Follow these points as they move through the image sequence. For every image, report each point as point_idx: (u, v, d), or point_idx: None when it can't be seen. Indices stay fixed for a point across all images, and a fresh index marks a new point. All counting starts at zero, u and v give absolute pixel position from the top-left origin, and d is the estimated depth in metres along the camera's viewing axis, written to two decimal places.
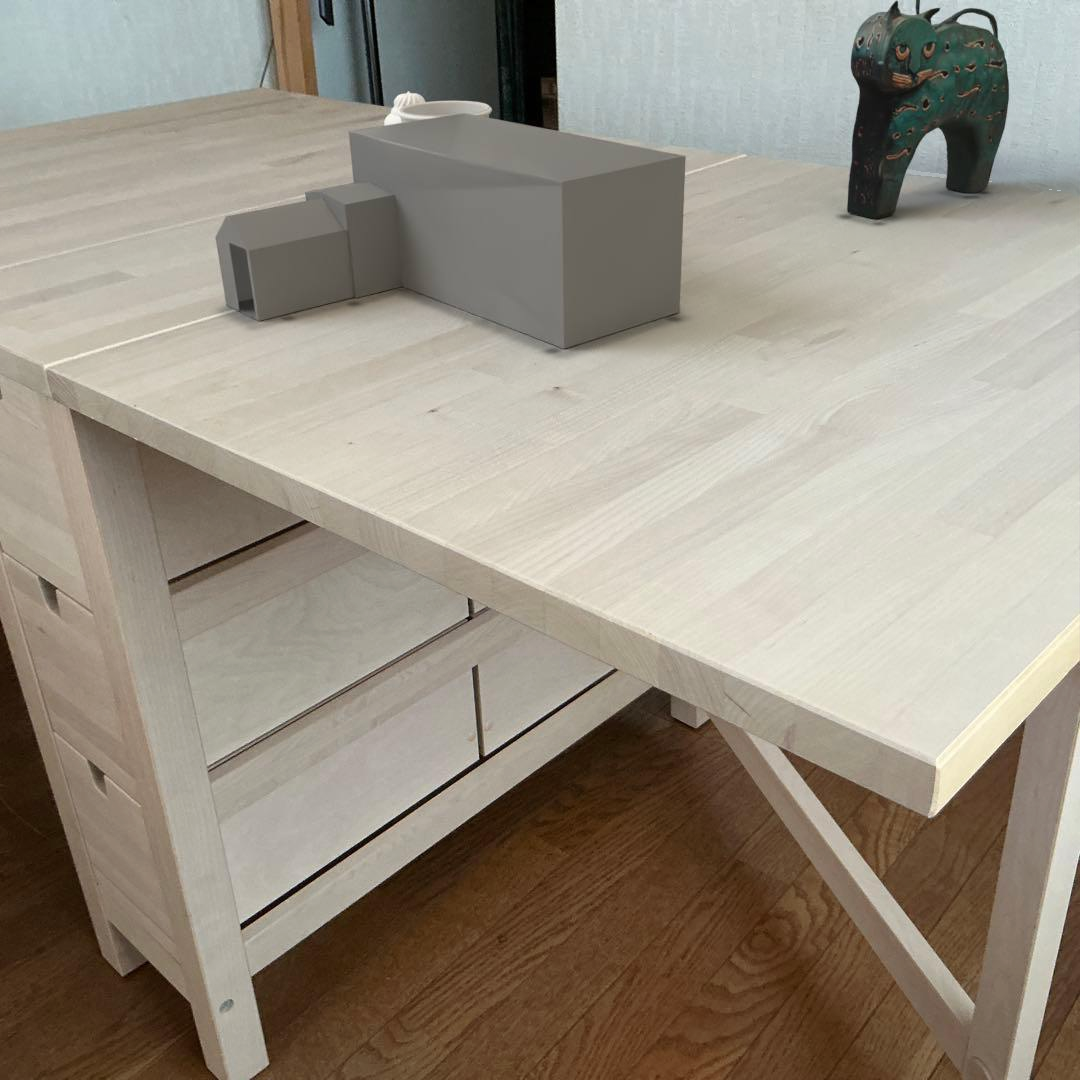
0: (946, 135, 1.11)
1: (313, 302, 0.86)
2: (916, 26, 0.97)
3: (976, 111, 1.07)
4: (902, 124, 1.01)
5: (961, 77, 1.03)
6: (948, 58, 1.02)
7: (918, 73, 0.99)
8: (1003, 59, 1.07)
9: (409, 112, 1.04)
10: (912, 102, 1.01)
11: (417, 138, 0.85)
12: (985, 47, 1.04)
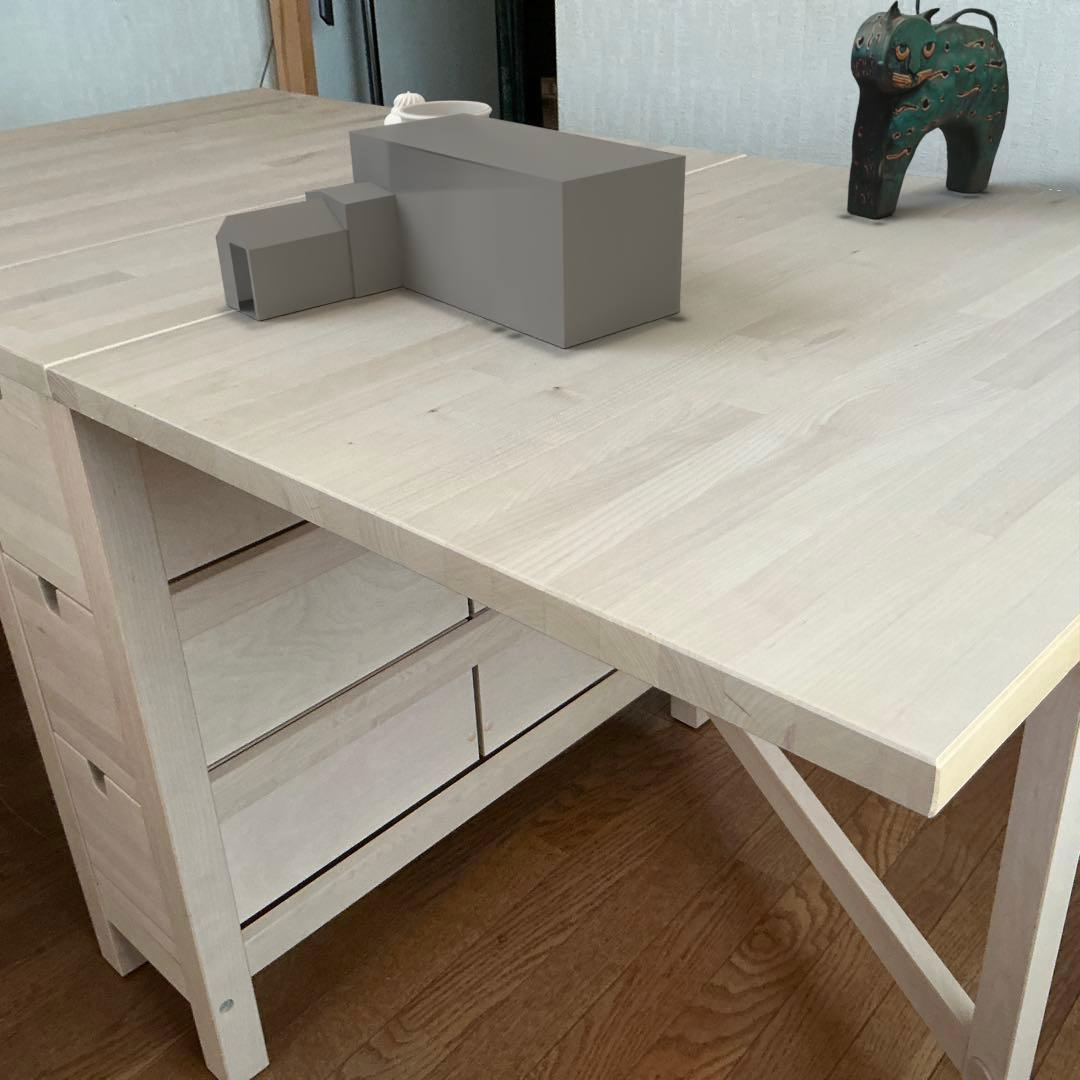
0: (946, 135, 1.11)
1: (313, 302, 0.86)
2: (916, 26, 0.97)
3: (976, 111, 1.07)
4: (902, 124, 1.01)
5: (961, 77, 1.03)
6: (948, 58, 1.02)
7: (918, 73, 0.99)
8: (1003, 59, 1.07)
9: (409, 112, 1.04)
10: (912, 102, 1.01)
11: (417, 138, 0.86)
12: (985, 47, 1.04)
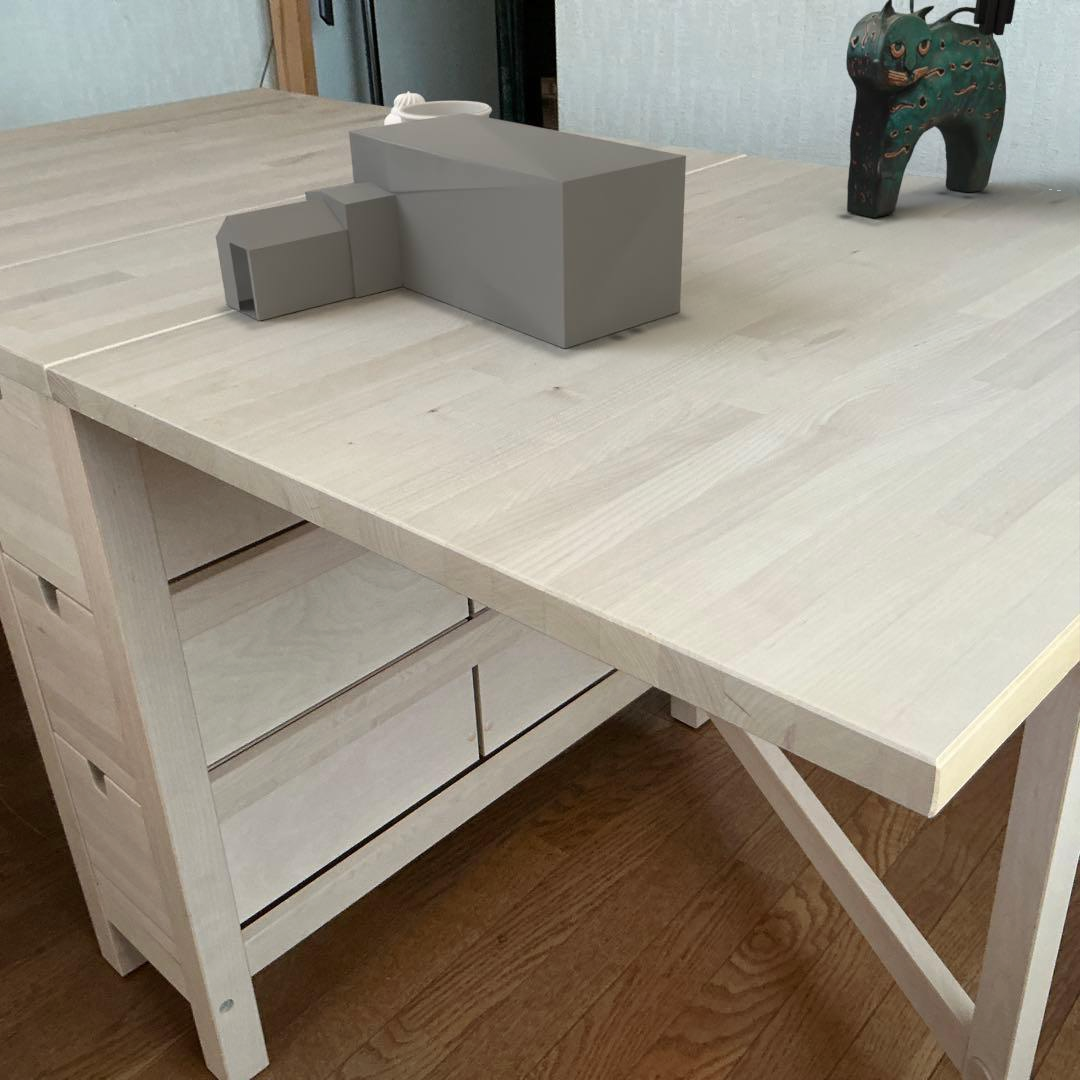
0: (944, 135, 1.11)
1: (313, 302, 0.86)
2: (910, 24, 0.97)
3: (973, 109, 1.07)
4: (899, 122, 1.01)
5: (957, 75, 1.03)
6: (944, 56, 1.02)
7: (914, 71, 0.99)
8: (999, 57, 1.07)
9: (409, 112, 1.04)
10: (909, 100, 1.01)
11: (417, 138, 0.86)
12: (981, 45, 1.04)
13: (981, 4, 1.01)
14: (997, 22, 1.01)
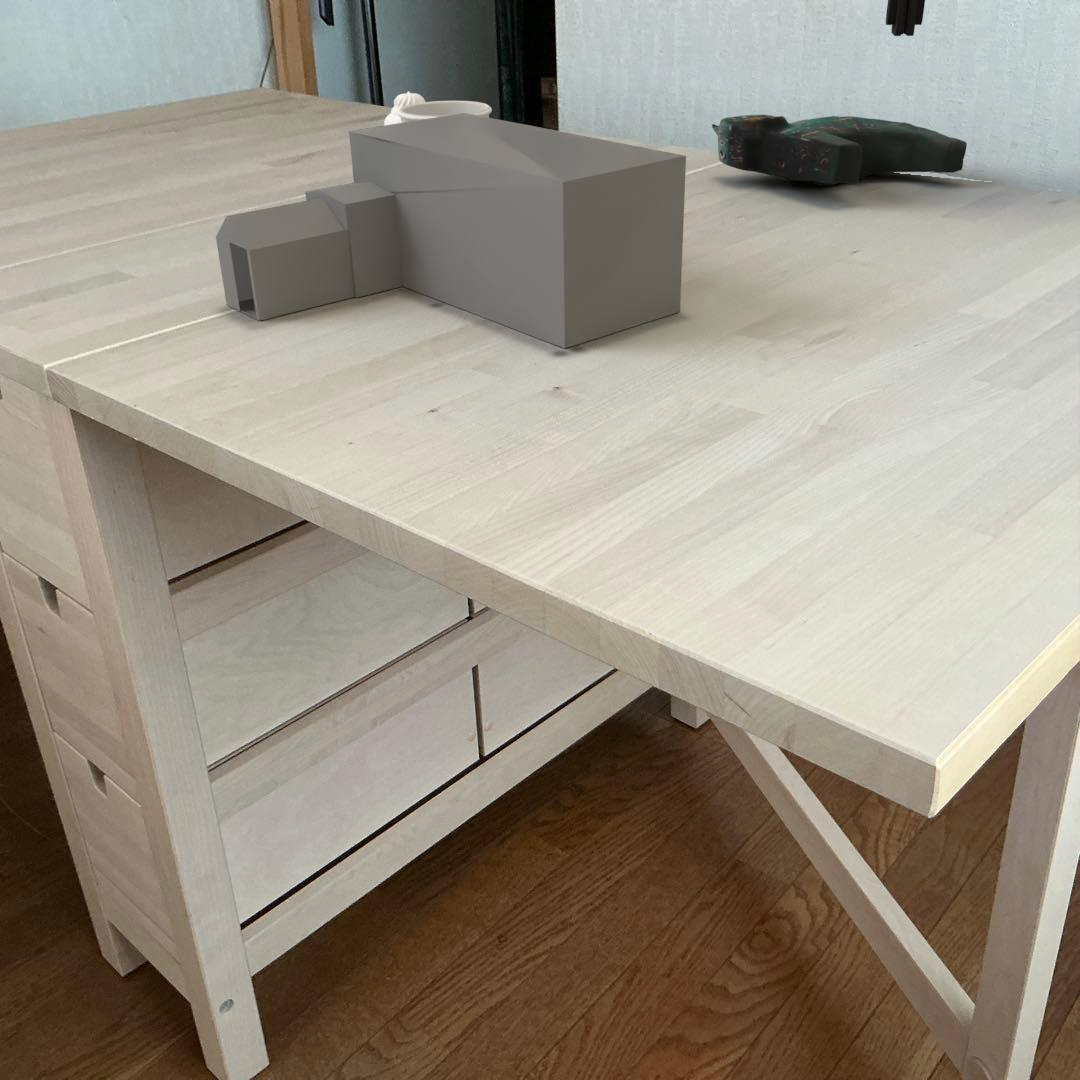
0: (891, 162, 1.16)
1: (313, 302, 0.86)
2: None
3: (872, 124, 1.16)
4: (794, 129, 1.12)
5: (824, 118, 1.17)
6: (800, 121, 1.18)
7: (768, 116, 1.15)
8: None
9: (409, 112, 1.04)
10: (791, 128, 1.14)
11: (417, 138, 0.86)
12: None
13: (891, 5, 1.02)
14: (907, 23, 1.02)
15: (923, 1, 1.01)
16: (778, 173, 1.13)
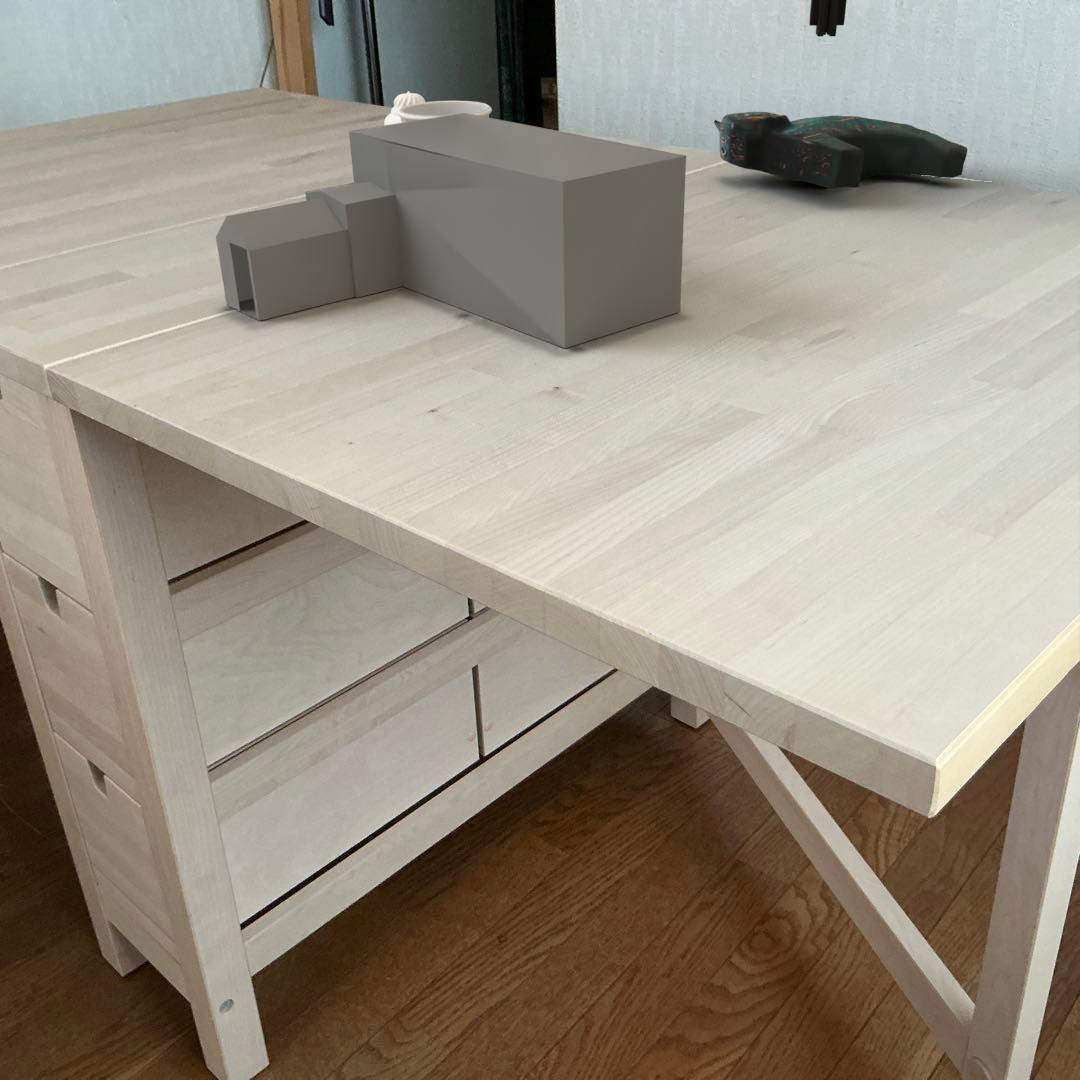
0: (892, 164, 1.16)
1: (313, 302, 0.86)
2: None
3: (874, 126, 1.16)
4: (796, 130, 1.11)
5: (826, 117, 1.17)
6: (803, 120, 1.18)
7: (771, 115, 1.14)
8: None
9: (409, 112, 1.04)
10: (793, 128, 1.13)
11: (417, 138, 0.86)
12: None
13: (813, 6, 1.03)
14: (829, 23, 1.03)
15: (844, 2, 1.02)
16: (779, 173, 1.13)
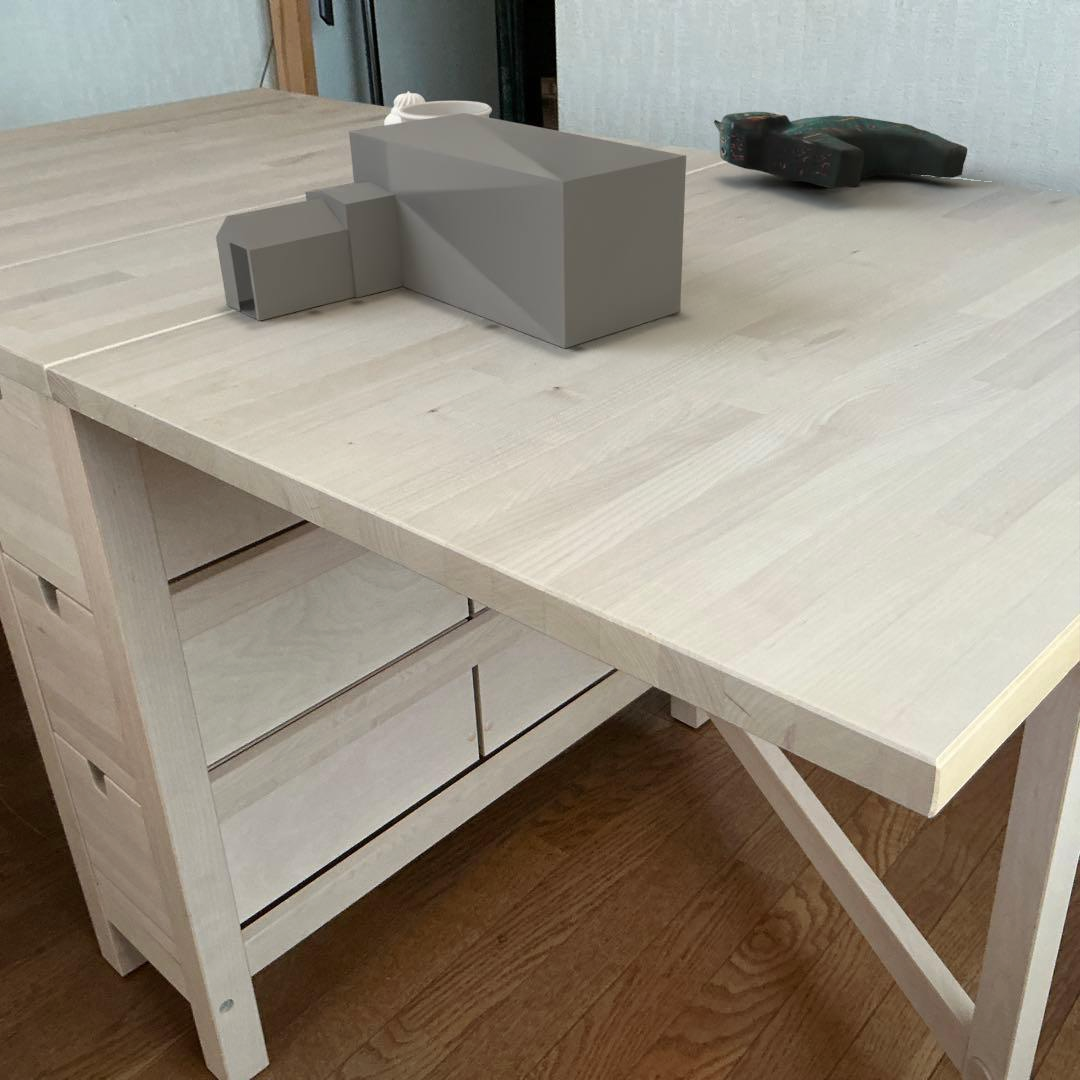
0: (892, 164, 1.16)
1: (314, 302, 0.86)
2: None
3: (874, 126, 1.16)
4: (796, 130, 1.11)
5: (826, 117, 1.17)
6: (803, 120, 1.18)
7: (771, 115, 1.14)
8: None
9: (409, 112, 1.04)
10: (793, 128, 1.13)
11: (417, 138, 0.86)
12: None
13: None
14: None
15: None
16: (779, 173, 1.13)
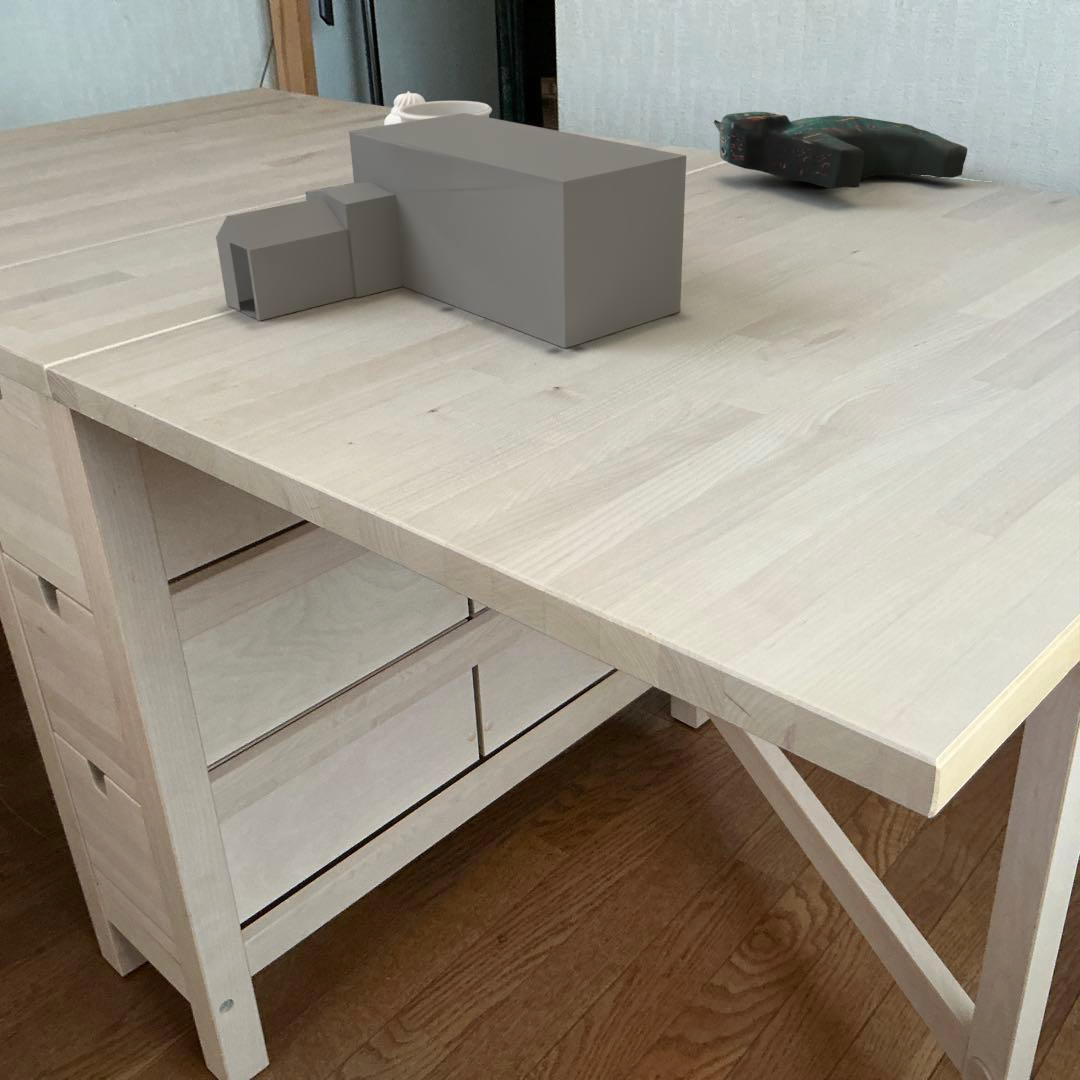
0: (892, 164, 1.16)
1: (314, 302, 0.86)
2: None
3: (874, 126, 1.16)
4: (796, 130, 1.11)
5: (826, 117, 1.17)
6: (803, 120, 1.18)
7: (771, 115, 1.14)
8: None
9: (409, 112, 1.04)
10: (793, 128, 1.13)
11: (418, 138, 0.86)
12: None
13: None
14: None
15: None
16: (779, 173, 1.13)
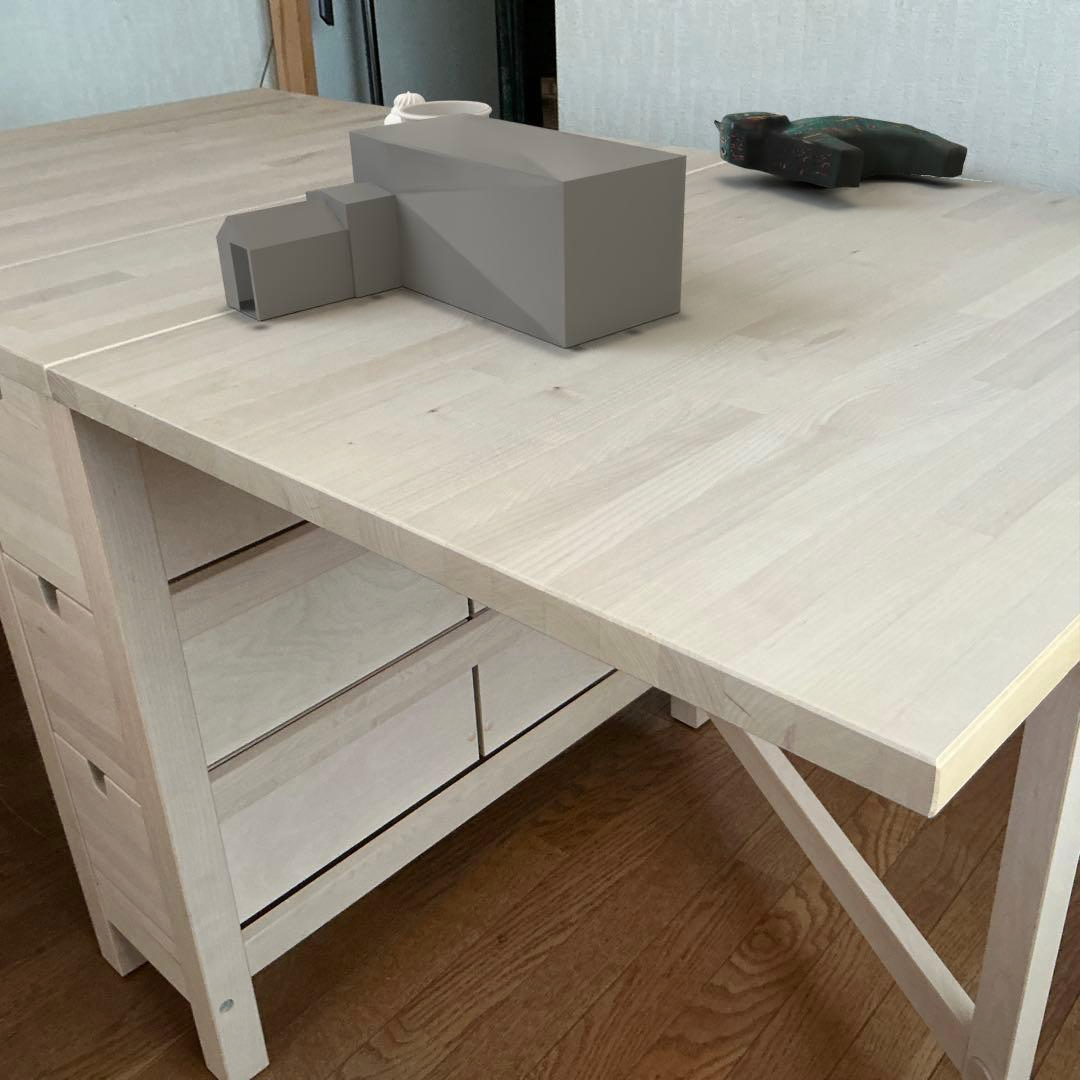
0: (892, 164, 1.16)
1: (314, 302, 0.86)
2: None
3: (874, 126, 1.16)
4: (796, 130, 1.11)
5: (826, 117, 1.17)
6: (803, 120, 1.18)
7: (771, 115, 1.14)
8: None
9: (409, 112, 1.04)
10: (793, 128, 1.13)
11: (418, 138, 0.86)
12: None
13: None
14: None
15: None
16: (779, 173, 1.13)
